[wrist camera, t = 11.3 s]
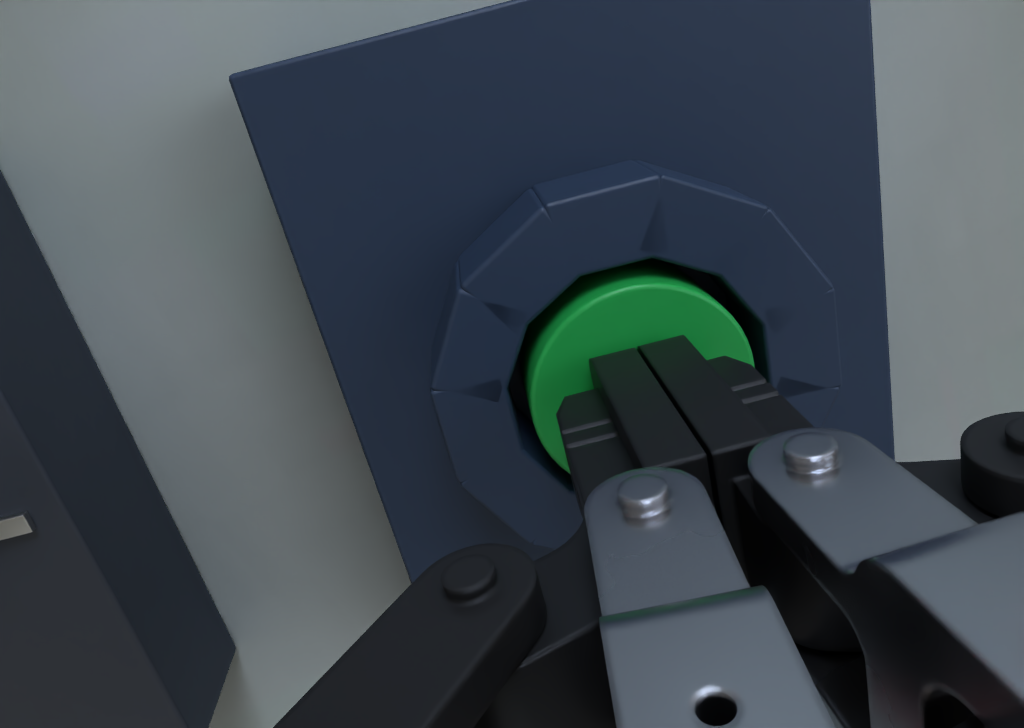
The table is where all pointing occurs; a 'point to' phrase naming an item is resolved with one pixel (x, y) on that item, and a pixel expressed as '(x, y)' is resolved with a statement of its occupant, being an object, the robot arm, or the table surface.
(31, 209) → the table surface
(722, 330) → the button
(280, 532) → the table surface
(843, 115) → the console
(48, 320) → the dial panel
